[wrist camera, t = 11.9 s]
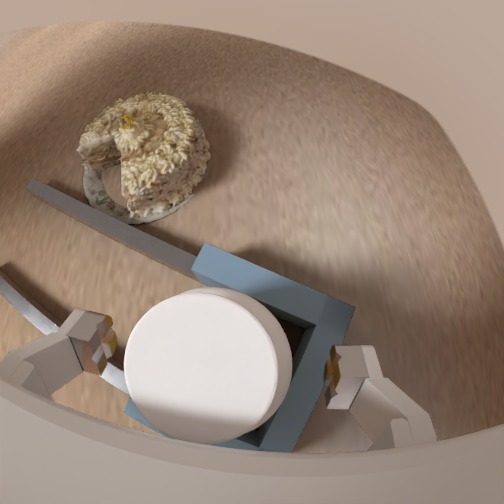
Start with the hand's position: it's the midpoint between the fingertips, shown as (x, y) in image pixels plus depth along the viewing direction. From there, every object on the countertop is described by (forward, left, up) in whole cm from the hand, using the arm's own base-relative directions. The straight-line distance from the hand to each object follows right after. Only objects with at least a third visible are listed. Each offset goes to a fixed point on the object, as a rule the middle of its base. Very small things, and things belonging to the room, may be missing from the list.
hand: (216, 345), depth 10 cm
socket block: (0, -1, -6) cm, 6 cm away
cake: (-11, +9, -7) cm, 15 cm away
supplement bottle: (0, -1, -6) cm, 6 cm away
